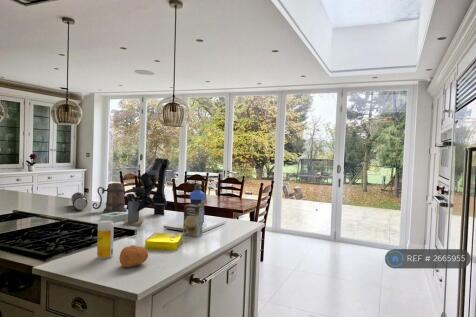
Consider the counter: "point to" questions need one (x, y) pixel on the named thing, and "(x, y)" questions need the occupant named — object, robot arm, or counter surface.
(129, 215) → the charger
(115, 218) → the socket block
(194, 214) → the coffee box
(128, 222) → the pad
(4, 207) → the counter surface
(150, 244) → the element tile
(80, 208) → the muzzle brake
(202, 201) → the water bottle
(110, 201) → the tankard
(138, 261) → the potato
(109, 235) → the white yellow canister
